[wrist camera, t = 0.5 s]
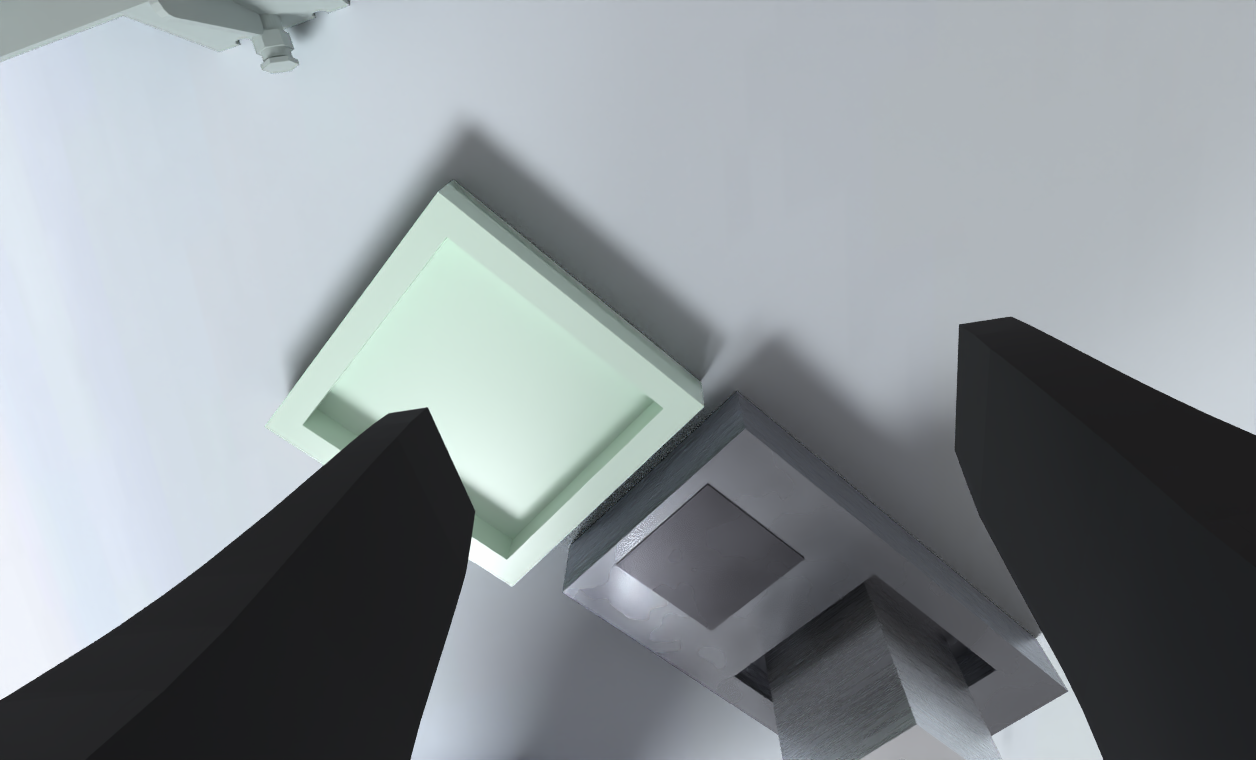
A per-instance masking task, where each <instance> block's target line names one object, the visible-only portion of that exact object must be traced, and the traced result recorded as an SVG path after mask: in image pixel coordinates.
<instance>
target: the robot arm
mask: <svg viewBox="0 0 1256 760" xmlns="http://www.w3.org/2000/svg"><path fill="white" fill-rule="evenodd" d="M955 452H956V455H957V457H958V460H959V463H960V466H961V468H962V471H963V474H964V477H965V479H966V482H967V485H968V488H969V490H970V493H971V495H972V498H973V500H974V503H975V505H976V508H977V511H978V513H979V516H980V518H981V520H982V522H983V523H984V525H985V527H986V529H987V531H988V533H989V535H990V537H991V539H992V540H993V542H994V544H995V546H996V548H997V550H998V552H999V554H1000V555H1001V557H1002V559H1003V561H1004V563H1005V565H1006V567H1007V568H1008V570H1009V572H1010V574H1011V576H1012V578H1013V579H1014V581H1015V583H1016V585H1017V587H1018V589H1019V590H1020V592H1021V594H1022V596H1023V598H1024V600H1025V601H1026V603H1027V605H1028V607H1029V609H1030V611H1031V612H1032V614H1033V616H1034V618H1035V620H1036V622H1037V623H1038V625H1039V627H1040V629H1041V631H1042V633H1043V634H1044V636H1045V638H1046V640H1047V642H1048V644H1049V645H1050V647H1051V649H1052V651H1053V653H1054V655H1055V656H1056V658H1057V660H1058V662H1059V664H1060V666H1061V667H1062V669H1063V671H1064V673H1065V675H1066V677H1067V679H1068V681H1069V683H1070V685H1071V687H1072V689H1073V691H1074V693H1075V695H1076V697H1077V700H1078V702H1079V704H1080V706H1081V708H1082V710H1083V712H1084V714H1085V717H1086V719H1087V722H1088V724H1089V726H1090V729H1091V731H1092V733H1093V736H1094V738H1095V741H1096V743H1097V745H1098V748H1099V750H1100V752H1101V755H1102V757H1103V760H1256V435H1254V434H1252V433H1249V432H1247V431H1245V430H1242V429H1240V428H1238V427H1236V426H1233V425H1231V424H1229V423H1226V422H1224V421H1222V420H1220V419H1217V418H1215V417H1213V416H1211V415H1208V414H1206V413H1204V412H1202V411H1200V410H1197V409H1195V408H1193V407H1191V406H1189V405H1187V404H1185V403H1183V402H1180V401H1178V400H1176V399H1174V398H1172V397H1170V396H1168V395H1166V394H1164V393H1162V392H1160V391H1158V390H1155V389H1153V388H1151V387H1149V386H1147V385H1145V384H1143V383H1141V382H1139V381H1137V380H1135V379H1133V378H1131V377H1129V376H1127V375H1125V374H1123V373H1121V372H1120V371H1118V370H1116V369H1114V368H1112V367H1110V366H1108V365H1106V364H1104V363H1102V362H1100V361H1098V360H1096V359H1094V358H1092V357H1090V356H1089V355H1087V354H1085V353H1083V352H1081V351H1079V350H1077V349H1075V348H1073V347H1071V346H1069V345H1067V344H1066V343H1064V342H1062V341H1060V340H1058V339H1056V338H1054V337H1052V336H1050V335H1048V334H1046V333H1044V332H1042V331H1040V330H1038V329H1036V328H1034V327H1032V326H1030V325H1028V324H1026V323H1024V322H1022V321H1020V320H1017V319H1015V318H1013V317H1005V318H998V319H992V320H986V321H979V322H973V323H966V324H960V325H959V342H958V371H957V400H956V429H955ZM474 518H475V509H474V507H473V505H472V503H471V500H470V498H469V496H468V494H467V492H466V489H465V487H464V485H463V483H462V481H461V479H460V476H459V474H458V472H457V470H456V468H455V465H454V463H453V461H452V459H451V457H450V455H449V452H448V450H447V448H446V446H445V444H444V441H443V439H442V437H441V435H440V433H439V430H438V428H437V426H436V424H435V422H434V420H433V417H432V415H431V413H430V411H429V409H428V407H425V408H419V409H412V410H406V411H400V412H393V413H388V414H387V415H385V416H384V417H383V418H381V419H380V420H378V421H377V422H375V423H374V424H373V425H371V426H370V427H369V428H368V429H366V430H365V431H364V432H363V433H361V434H360V435H359V436H358V437H356V438H355V439H354V440H353V441H352V442H350V443H349V444H348V445H347V446H346V447H345V448H343V449H342V450H341V451H340V452H339V453H338V454H336V455H335V456H334V457H333V458H332V459H331V460H329V461H328V462H327V463H326V464H325V465H324V466H322V467H321V468H320V469H319V470H318V471H317V472H315V473H314V474H313V475H312V476H311V477H310V478H308V479H307V480H306V481H305V482H304V483H303V484H302V485H300V486H299V487H298V488H297V489H296V490H295V491H293V492H292V493H291V494H290V495H289V496H288V497H286V498H285V499H284V500H283V501H282V502H281V503H279V504H278V505H277V506H276V507H275V508H274V509H272V510H271V511H270V512H269V513H268V514H266V515H265V516H264V517H263V518H261V519H260V520H259V521H258V522H256V523H255V524H254V525H253V526H251V527H250V528H249V529H248V530H246V531H245V532H244V533H243V534H241V535H240V536H239V537H238V538H237V539H235V540H234V541H233V542H232V543H230V544H229V545H228V546H227V547H225V548H224V549H223V550H222V551H220V552H219V553H218V554H217V555H215V556H214V557H213V558H212V559H211V560H209V561H208V562H207V563H206V564H204V565H203V566H202V567H200V568H199V569H198V570H196V571H195V572H194V573H192V574H191V575H190V576H188V577H187V578H186V579H184V580H183V581H182V582H180V583H179V584H178V585H176V586H175V587H174V588H172V589H171V590H169V591H168V592H167V593H165V594H164V595H163V596H161V597H160V598H158V599H157V600H155V601H154V602H153V603H151V604H150V605H148V606H147V607H145V608H144V609H143V610H141V611H140V612H138V613H137V614H135V615H134V616H133V617H131V618H130V619H128V620H127V621H125V622H124V623H122V624H121V625H120V626H118V627H117V628H115V629H114V630H112V631H111V632H109V633H108V634H106V635H105V636H103V637H102V638H100V639H98V640H97V641H95V642H94V643H92V644H90V645H89V646H87V647H86V648H84V649H82V650H81V651H79V652H78V653H76V654H74V655H73V656H71V657H69V658H68V659H66V660H65V661H63V662H61V663H60V664H58V665H57V666H55V667H53V668H52V669H50V670H49V671H47V672H45V673H44V674H42V675H41V676H39V677H37V678H36V679H34V680H33V681H31V682H29V683H28V684H26V685H25V686H23V687H21V688H20V689H18V690H17V691H15V692H13V693H12V694H10V695H8V696H7V697H5V698H3V699H1V700H0V760H410V759H411V755H412V751H413V748H414V744H415V740H416V736H417V733H418V729H419V725H420V721H421V718H422V715H423V712H424V708H425V705H426V702H427V699H428V696H429V692H430V689H431V686H432V683H433V680H434V676H435V673H436V670H437V667H438V664H439V660H440V657H441V654H442V651H443V648H444V644H445V641H446V638H447V635H448V632H449V628H450V625H451V622H452V618H453V615H454V612H455V609H456V605H457V602H458V599H459V595H460V592H461V588H462V585H463V581H464V578H465V574H466V569H467V563H468V558H469V552H470V546H471V539H472V532H473V525H474Z"/></svg>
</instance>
